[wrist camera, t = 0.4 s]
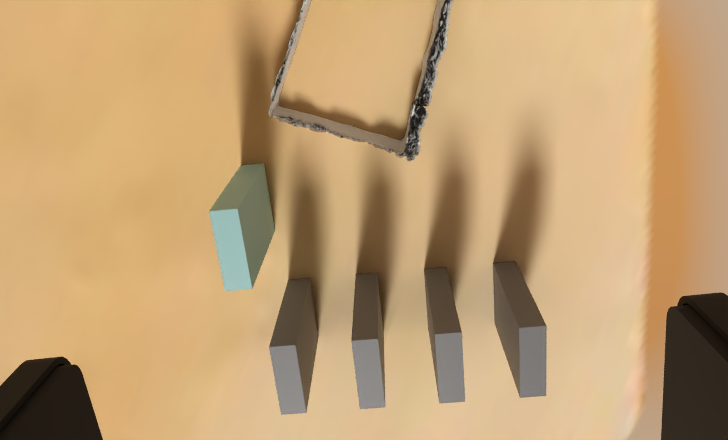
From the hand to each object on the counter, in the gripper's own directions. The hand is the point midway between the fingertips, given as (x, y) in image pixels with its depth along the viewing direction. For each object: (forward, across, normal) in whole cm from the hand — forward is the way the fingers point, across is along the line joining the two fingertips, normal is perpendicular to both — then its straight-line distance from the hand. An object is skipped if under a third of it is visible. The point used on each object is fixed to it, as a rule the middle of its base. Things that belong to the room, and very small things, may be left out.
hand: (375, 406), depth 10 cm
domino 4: (+34, -8, +16) cm, 38 cm away
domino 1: (+34, +7, +15) cm, 38 cm away
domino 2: (+34, +2, +16) cm, 37 cm away
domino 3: (+34, -3, +16) cm, 38 cm away
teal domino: (+34, +9, +6) cm, 36 cm away
